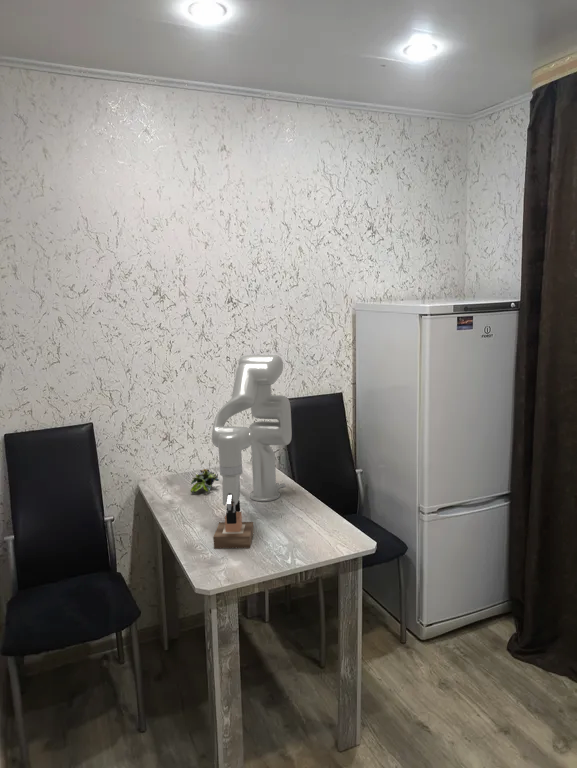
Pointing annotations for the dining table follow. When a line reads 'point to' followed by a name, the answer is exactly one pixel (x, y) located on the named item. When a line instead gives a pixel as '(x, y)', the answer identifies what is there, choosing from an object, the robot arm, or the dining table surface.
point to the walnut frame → (234, 536)
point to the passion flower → (204, 480)
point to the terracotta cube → (236, 526)
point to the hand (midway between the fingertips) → (233, 517)
